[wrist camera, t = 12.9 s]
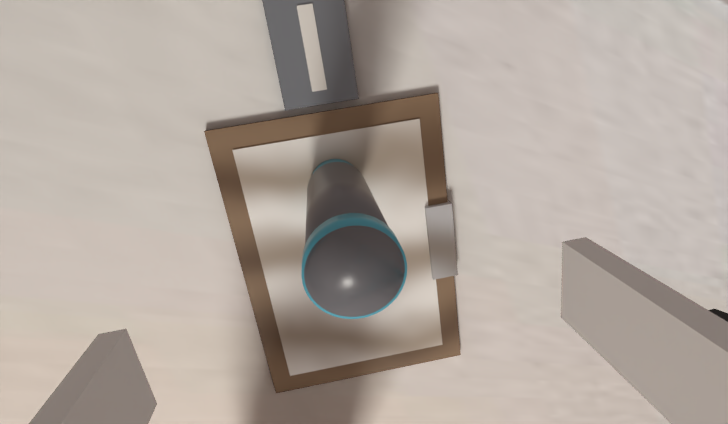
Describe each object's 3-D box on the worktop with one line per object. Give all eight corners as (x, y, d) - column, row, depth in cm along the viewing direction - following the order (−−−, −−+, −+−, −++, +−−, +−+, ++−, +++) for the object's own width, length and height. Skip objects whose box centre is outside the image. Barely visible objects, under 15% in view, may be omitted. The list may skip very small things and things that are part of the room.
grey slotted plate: (262, -5, 26) (261, -6, 25) (341, -16, 26) (341, -18, 26) (285, 110, 28) (285, 110, 28) (358, 98, 28) (358, 98, 28)
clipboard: (205, 130, 28) (202, 132, 27) (439, 92, 29) (442, 93, 28) (276, 389, 35) (275, 397, 34) (461, 351, 36) (464, 357, 35)
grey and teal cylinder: (300, 160, 29) (291, 234, 16) (360, 149, 29) (400, 214, 16) (312, 216, 30) (312, 327, 17) (368, 206, 30) (412, 307, 17)
